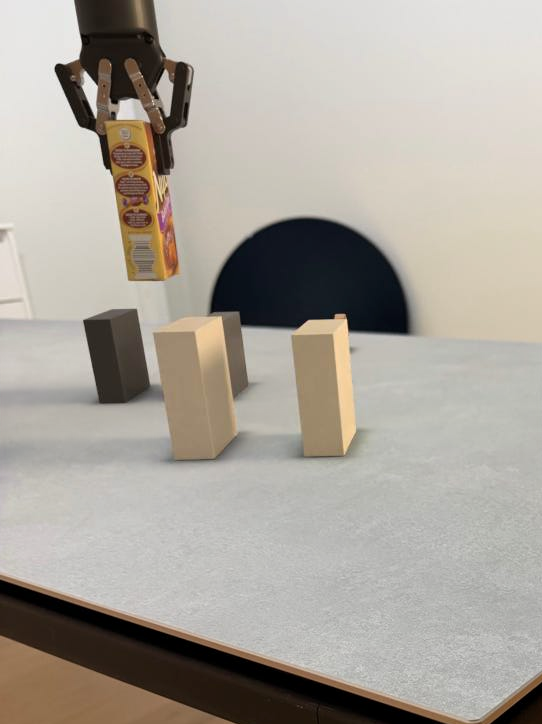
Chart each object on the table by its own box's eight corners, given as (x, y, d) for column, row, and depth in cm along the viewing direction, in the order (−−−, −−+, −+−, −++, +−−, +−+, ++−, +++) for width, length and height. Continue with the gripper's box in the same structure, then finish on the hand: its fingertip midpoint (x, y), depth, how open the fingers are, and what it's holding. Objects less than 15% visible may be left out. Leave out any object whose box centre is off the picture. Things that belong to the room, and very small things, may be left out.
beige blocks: (174, 460, 85) (152, 332, 80) (201, 435, 93) (183, 317, 88) (344, 456, 85) (332, 327, 80) (356, 431, 93) (346, 313, 88)
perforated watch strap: (331, 353, 133) (328, 316, 131) (336, 348, 138) (333, 311, 135) (350, 353, 133) (347, 316, 131) (355, 347, 137) (352, 311, 135)
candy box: (169, 281, 101) (143, 118, 95) (127, 282, 101) (99, 119, 94) (183, 273, 109) (161, 123, 103) (145, 275, 109) (120, 124, 102)
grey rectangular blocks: (99, 403, 107) (82, 319, 103) (126, 386, 116) (111, 309, 112) (231, 399, 107) (219, 316, 103) (249, 383, 115) (238, 305, 111)
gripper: (22, -25, 90) (60, 176, 97) (172, -27, 90) (199, 174, 97) (53, -11, 97) (87, 176, 104) (194, -13, 97) (217, 174, 104)
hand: (141, 174), depth 101 cm, fingers closed on candy box, 4 cm apart
